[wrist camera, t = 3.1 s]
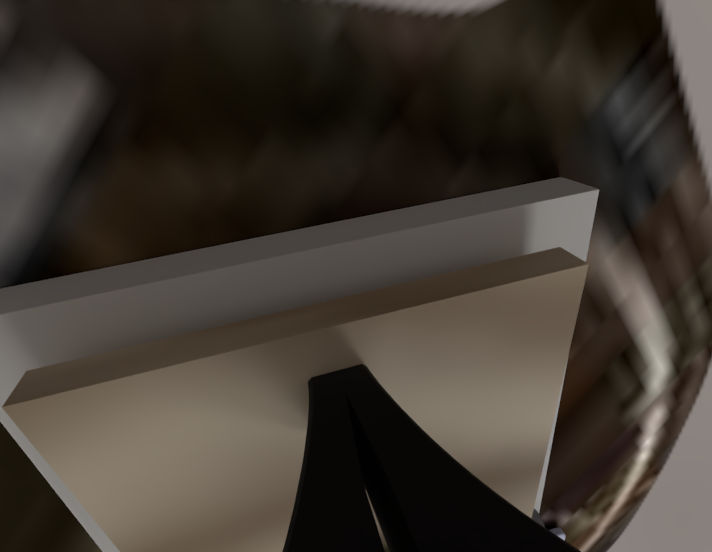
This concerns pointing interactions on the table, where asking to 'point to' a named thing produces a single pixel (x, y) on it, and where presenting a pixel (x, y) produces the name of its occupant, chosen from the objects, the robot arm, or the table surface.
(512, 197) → the light grey square plate
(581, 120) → the table surface
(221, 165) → the table surface
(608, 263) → the table surface
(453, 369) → the board
